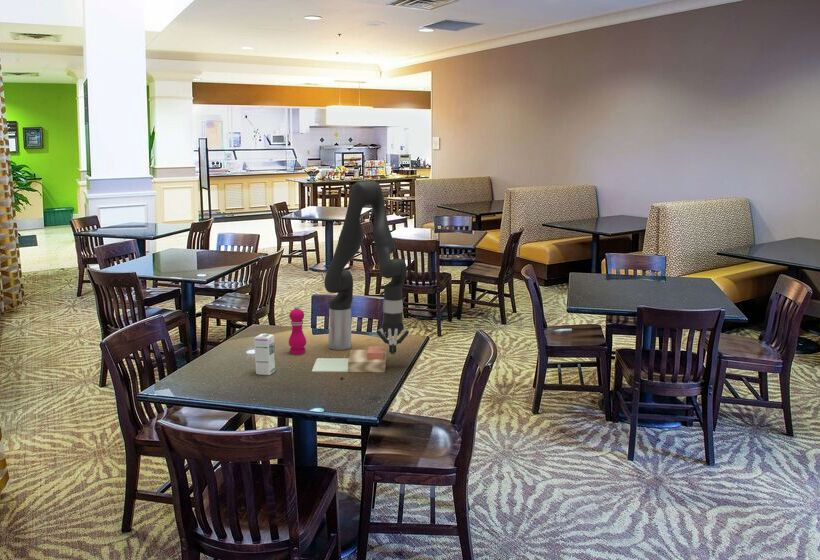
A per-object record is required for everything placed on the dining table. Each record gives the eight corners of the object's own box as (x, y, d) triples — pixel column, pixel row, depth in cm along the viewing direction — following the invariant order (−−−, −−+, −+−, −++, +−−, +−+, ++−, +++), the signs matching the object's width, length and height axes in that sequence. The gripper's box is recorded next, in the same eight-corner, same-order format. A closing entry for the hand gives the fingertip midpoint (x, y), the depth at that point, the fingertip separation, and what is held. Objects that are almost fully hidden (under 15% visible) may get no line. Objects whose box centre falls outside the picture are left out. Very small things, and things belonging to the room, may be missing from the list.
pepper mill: (308, 350, 289) (307, 303, 285) (304, 355, 282) (303, 307, 278) (291, 349, 290) (290, 303, 286) (286, 354, 282) (285, 307, 279)
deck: (348, 372, 261) (348, 362, 260) (351, 359, 277) (351, 349, 276) (385, 372, 261) (385, 362, 261) (386, 359, 277) (386, 350, 276)
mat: (311, 371, 261) (311, 370, 261) (317, 359, 277) (317, 358, 277) (347, 372, 261) (347, 371, 261) (350, 359, 277) (350, 358, 277)
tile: (367, 359, 264) (367, 353, 263) (368, 352, 273) (368, 346, 272) (382, 359, 264) (382, 353, 264) (383, 352, 273) (383, 346, 272)
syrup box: (270, 375, 257) (268, 337, 254) (255, 374, 258) (253, 336, 255) (276, 370, 262) (274, 333, 260) (261, 369, 263) (260, 332, 261)
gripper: (375, 312, 261) (375, 356, 265) (410, 312, 262) (409, 356, 265) (376, 308, 269) (376, 350, 272) (410, 308, 269) (409, 350, 272)
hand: (392, 353), depth 268 cm, fingers closed
